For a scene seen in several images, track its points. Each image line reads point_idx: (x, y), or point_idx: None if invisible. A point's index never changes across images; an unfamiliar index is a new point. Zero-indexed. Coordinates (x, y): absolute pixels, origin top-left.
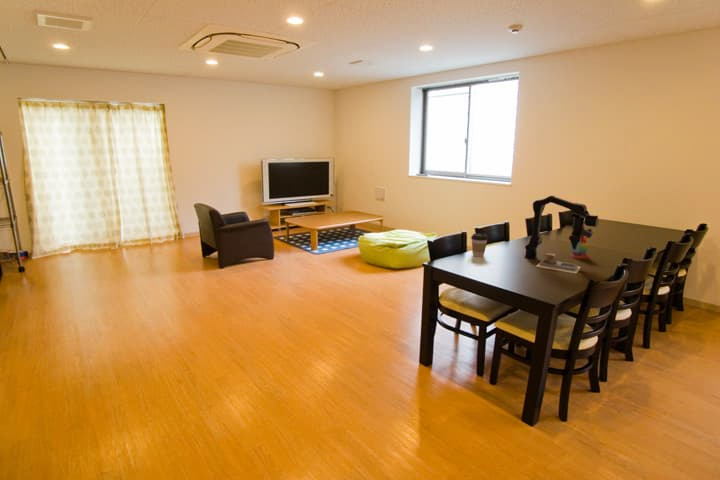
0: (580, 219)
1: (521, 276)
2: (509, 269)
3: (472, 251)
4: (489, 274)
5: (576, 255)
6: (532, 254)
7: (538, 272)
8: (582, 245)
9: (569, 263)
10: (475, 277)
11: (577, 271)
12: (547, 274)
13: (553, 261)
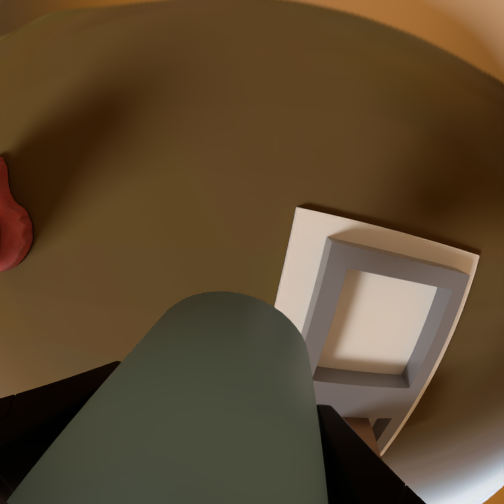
0: None
1: (500, 449)
2: (426, 498)
3: None
4: (471, 497)
5: (8, 243)
6: None
7: (466, 433)
8: None
9: (318, 326)
10: (486, 496)
11: (448, 246)
12: (493, 397)
13: (375, 442)
